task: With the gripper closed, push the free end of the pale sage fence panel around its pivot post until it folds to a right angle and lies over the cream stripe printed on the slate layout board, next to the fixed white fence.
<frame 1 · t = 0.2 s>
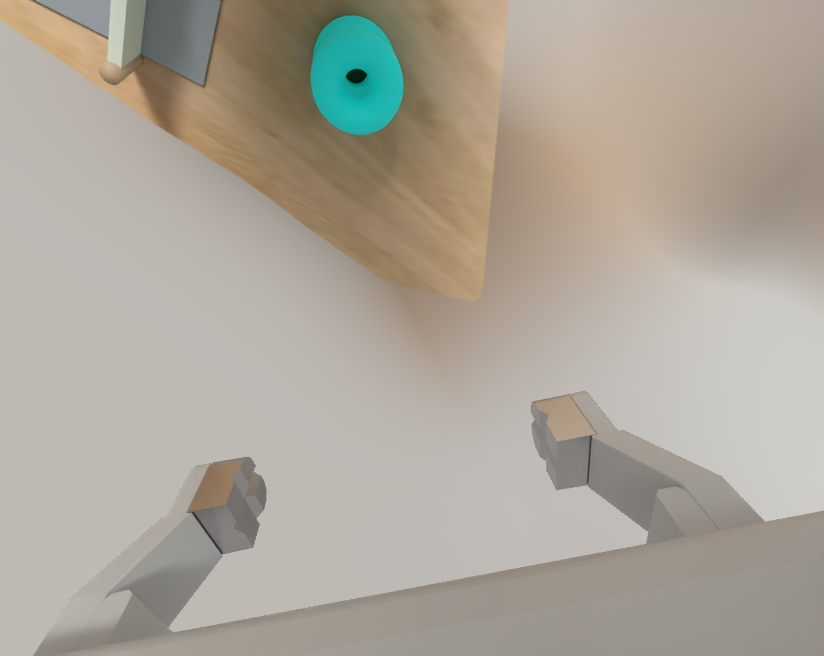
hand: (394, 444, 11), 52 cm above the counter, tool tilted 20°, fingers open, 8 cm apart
fence panel: (125, 28, 39), point 4 cm above the counter, hinge at 0.0°
donuts: (354, 64, 48), on the counter
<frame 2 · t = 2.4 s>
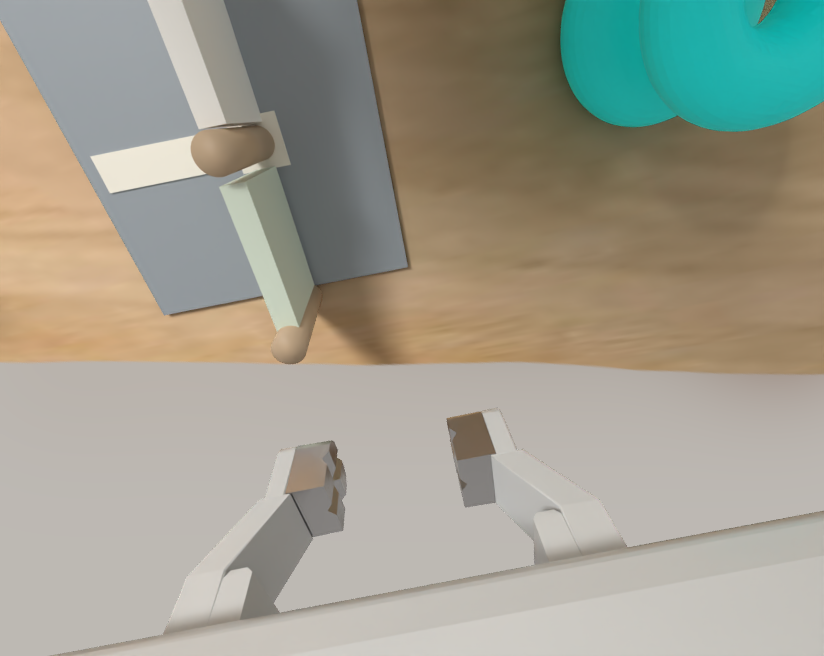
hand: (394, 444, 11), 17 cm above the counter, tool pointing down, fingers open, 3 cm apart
fence panel: (279, 262, 22), point 4 cm above the counter, hinge at 0.0°
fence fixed: (258, 143, 22), resting on layout board
donuts: (639, 23, 21), on the counter
layout board: (231, 138, 22), on the counter
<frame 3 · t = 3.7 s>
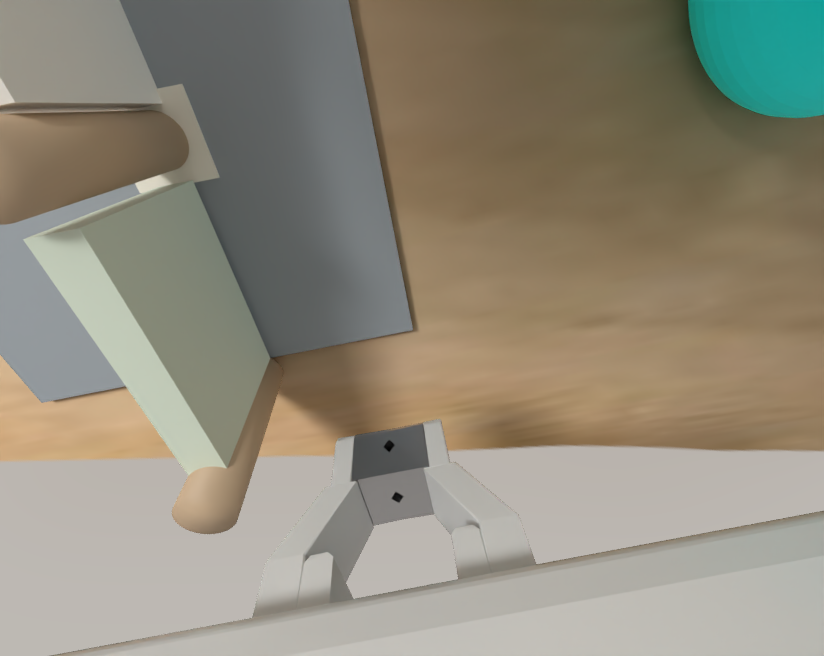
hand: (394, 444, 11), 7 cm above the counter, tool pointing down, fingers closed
fence panel: (195, 348, 13), point 4 cm above the counter, hinge at 0.0°
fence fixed: (160, 141, 13), resting on layout board
layout board: (113, 132, 13), on the counter
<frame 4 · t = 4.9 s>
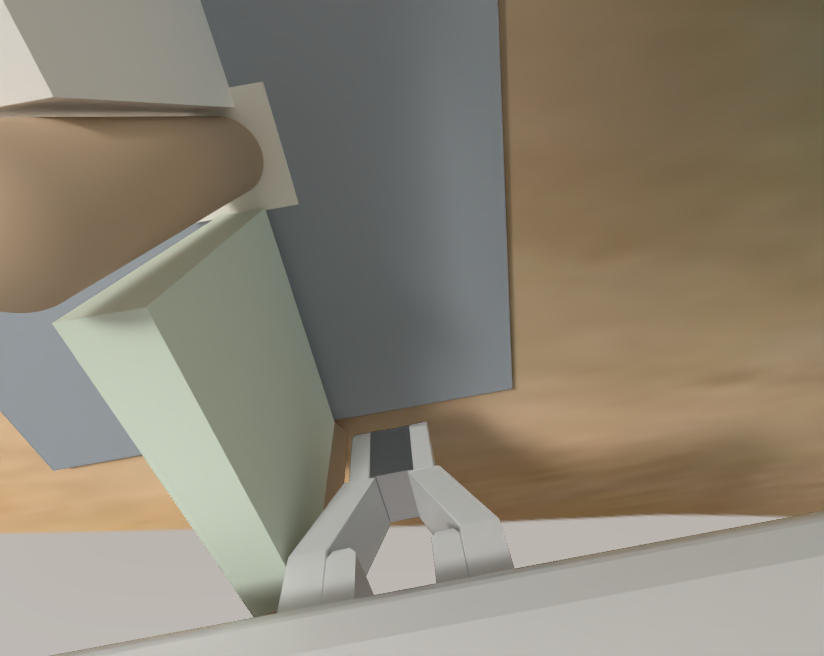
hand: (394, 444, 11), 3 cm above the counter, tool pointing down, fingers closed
fence panel: (266, 435, 9), point 4 cm above the counter, hinge at -0.6°, touching gripper
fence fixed: (227, 156, 10), resting on layout board
layout board: (165, 145, 10), on the counter
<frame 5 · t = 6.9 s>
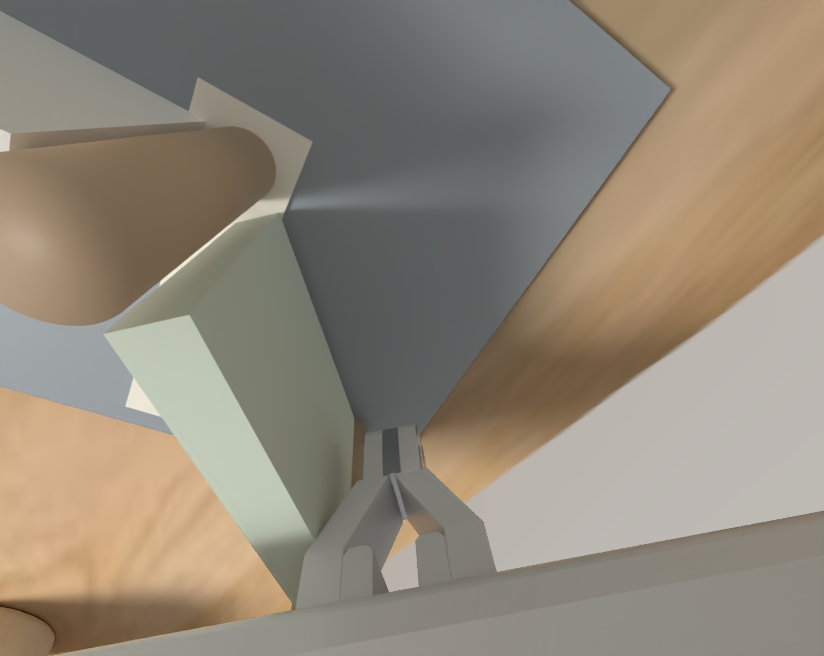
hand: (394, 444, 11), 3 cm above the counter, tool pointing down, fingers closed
fence panel: (294, 431, 10), point 4 cm above the counter, hinge at -49.6°, touching gripper
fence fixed: (240, 165, 10), resting on layout board
layout board: (208, 206, 11), on the counter
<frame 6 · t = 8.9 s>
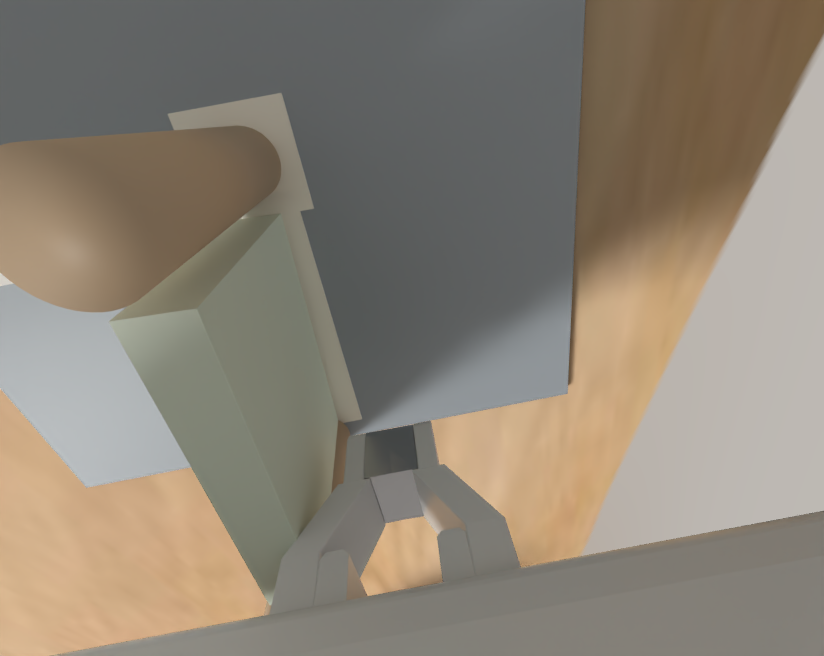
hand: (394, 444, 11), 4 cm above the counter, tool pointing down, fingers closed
fence panel: (280, 430, 10), point 4 cm above the counter, hinge at -92.6°, touching gripper
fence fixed: (246, 164, 10), resting on layout board
layout board: (251, 221, 11), on the counter
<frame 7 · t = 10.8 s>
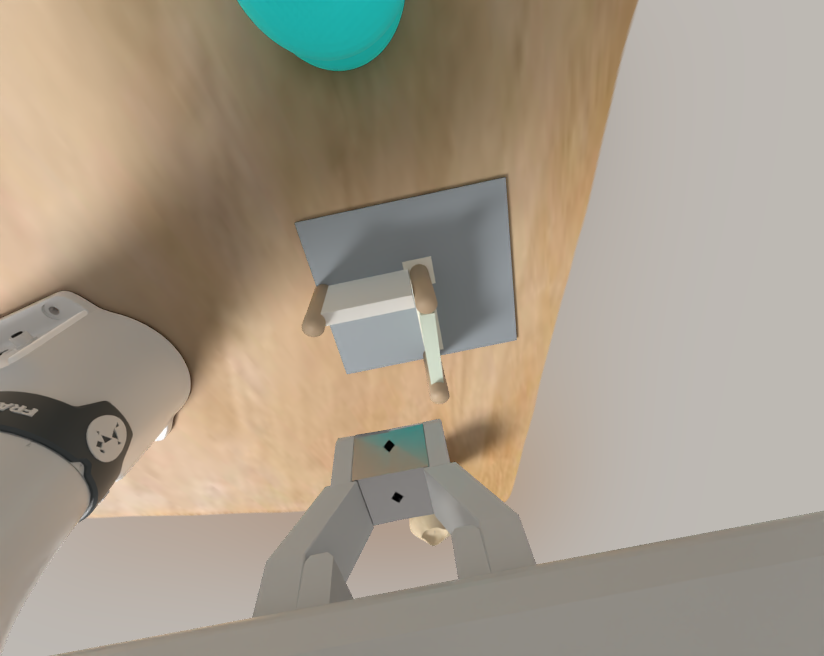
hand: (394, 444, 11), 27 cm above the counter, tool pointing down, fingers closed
fence panel: (430, 343, 37), point 4 cm above the counter, hinge at -92.7°
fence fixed: (419, 272, 38), resting on layout board
layout board: (416, 286, 39), on the counter
candle: (426, 463, 52), on the counter
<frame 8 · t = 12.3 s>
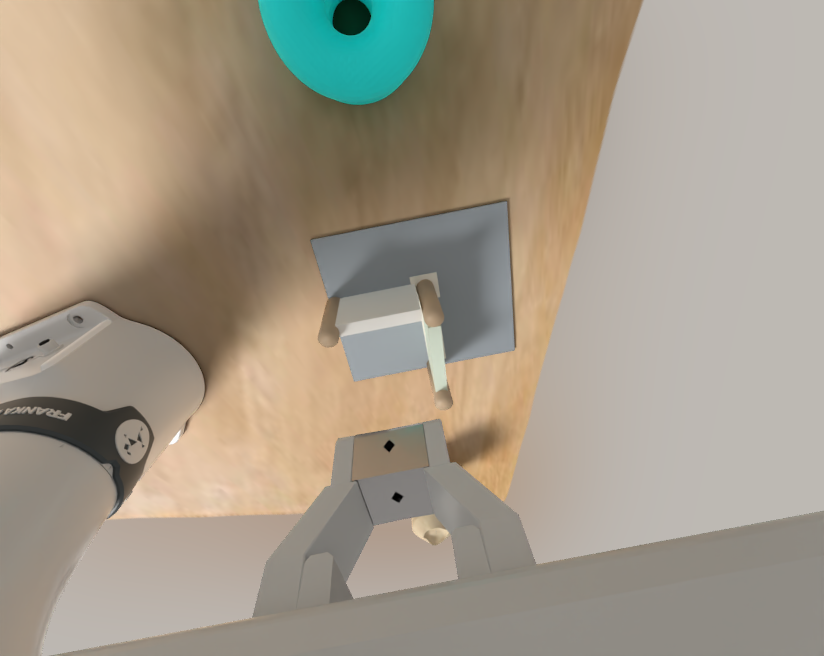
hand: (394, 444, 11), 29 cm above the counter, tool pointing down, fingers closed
fence panel: (435, 353, 40), point 4 cm above the counter, hinge at -92.7°
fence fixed: (425, 287, 40), resting on layout board
donuts: (354, 30, 30), on the counter
layout board: (422, 299, 41), on the counter
candle: (426, 467, 54), on the counter
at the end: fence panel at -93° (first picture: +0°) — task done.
